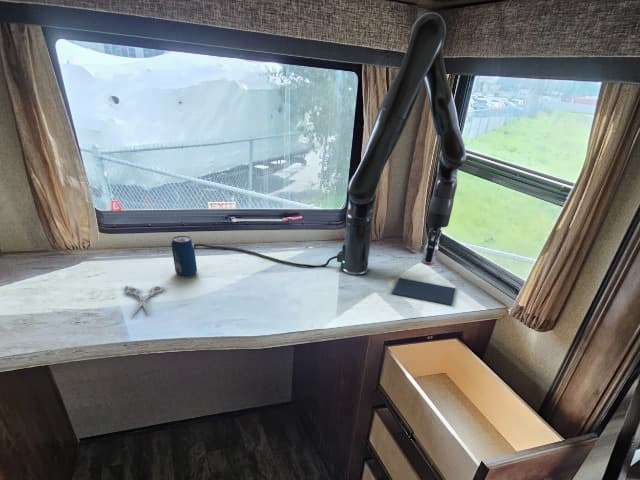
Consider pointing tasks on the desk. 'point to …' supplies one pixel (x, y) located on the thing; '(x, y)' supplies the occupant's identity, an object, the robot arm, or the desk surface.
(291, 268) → the desk surface
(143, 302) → the scissors
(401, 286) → the mat
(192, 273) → the soda can
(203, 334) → the desk surface
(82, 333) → the desk surface
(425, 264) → the pill bottle
